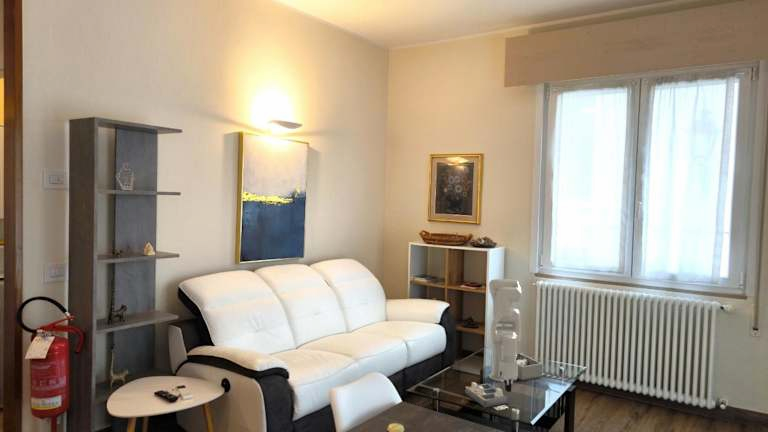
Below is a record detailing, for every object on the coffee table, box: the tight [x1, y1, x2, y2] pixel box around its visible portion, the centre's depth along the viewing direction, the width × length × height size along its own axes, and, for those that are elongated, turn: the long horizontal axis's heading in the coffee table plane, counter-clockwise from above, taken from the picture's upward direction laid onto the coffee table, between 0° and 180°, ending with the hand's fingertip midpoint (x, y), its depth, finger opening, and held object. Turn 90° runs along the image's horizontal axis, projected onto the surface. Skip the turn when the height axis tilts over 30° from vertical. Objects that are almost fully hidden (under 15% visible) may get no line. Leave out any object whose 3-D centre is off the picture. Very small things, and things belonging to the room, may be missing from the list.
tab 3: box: [494, 387, 504, 398], centre depth 290 cm, size 4×4×5 cm
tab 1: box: [470, 381, 479, 391], centre depth 297 cm, size 4×4×5 cm
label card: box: [493, 404, 509, 411], centre depth 281 cm, size 7×4×1 cm, turn 113°
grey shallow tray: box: [464, 382, 510, 408], centre depth 294 cm, size 15×20×4 cm
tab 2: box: [476, 386, 486, 395], centre depth 292 cm, size 4×4×5 cm
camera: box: [517, 352, 528, 366], centre depth 333 cm, size 15×8×10 cm, turn 148°
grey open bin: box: [516, 352, 543, 381], centre depth 333 cm, size 15×22×8 cm
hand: (508, 391), depth 291 cm, fingers closed
